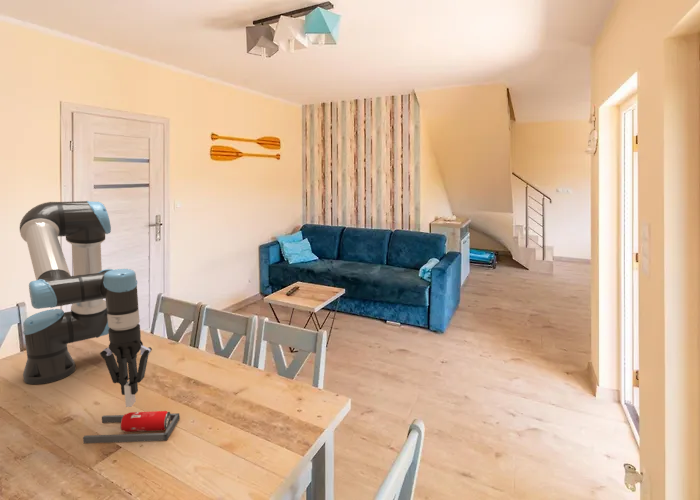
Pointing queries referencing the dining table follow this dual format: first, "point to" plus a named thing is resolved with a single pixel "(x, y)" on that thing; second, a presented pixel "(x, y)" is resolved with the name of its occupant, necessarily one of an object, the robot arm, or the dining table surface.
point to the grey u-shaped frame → (131, 437)
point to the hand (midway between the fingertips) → (130, 404)
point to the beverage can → (145, 421)
